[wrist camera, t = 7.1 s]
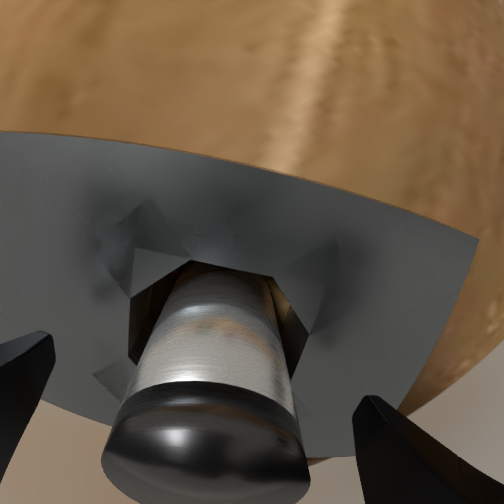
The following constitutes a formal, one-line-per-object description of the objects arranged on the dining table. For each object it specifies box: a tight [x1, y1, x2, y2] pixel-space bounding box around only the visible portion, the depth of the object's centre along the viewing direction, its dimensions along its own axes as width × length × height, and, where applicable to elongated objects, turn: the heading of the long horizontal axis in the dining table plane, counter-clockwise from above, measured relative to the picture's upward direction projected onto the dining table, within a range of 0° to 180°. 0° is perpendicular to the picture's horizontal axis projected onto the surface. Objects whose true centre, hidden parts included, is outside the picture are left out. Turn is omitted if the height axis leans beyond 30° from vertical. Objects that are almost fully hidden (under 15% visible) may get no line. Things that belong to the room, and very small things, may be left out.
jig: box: [0, 131, 479, 457], centre depth 10 cm, size 20×11×3 cm, turn 77°
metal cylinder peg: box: [101, 261, 311, 504], centre depth 8 cm, size 4×4×8 cm
